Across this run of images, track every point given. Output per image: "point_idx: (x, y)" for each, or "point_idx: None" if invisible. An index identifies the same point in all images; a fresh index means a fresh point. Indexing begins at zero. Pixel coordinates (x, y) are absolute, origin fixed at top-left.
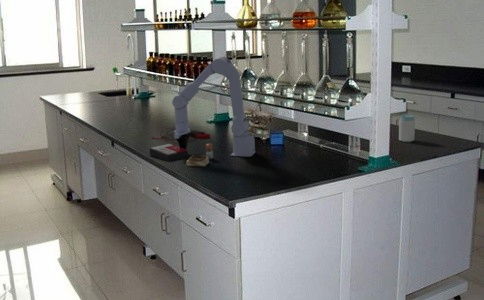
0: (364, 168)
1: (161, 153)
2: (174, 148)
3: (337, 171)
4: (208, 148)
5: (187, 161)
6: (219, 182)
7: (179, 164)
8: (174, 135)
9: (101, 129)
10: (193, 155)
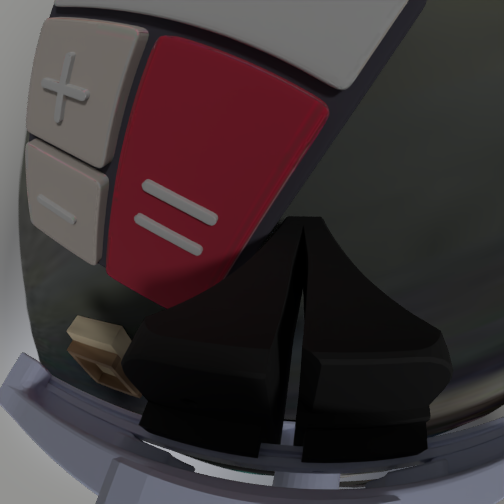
0: (246, 472)
1: (30, 138)
2: (155, 205)
3: (221, 464)
4: None
5: (70, 333)
6: (67, 376)
7: (66, 284)
8: (4, 389)
9: None
10: (105, 365)
